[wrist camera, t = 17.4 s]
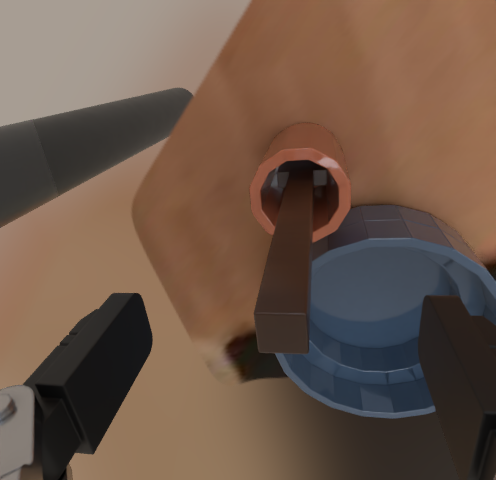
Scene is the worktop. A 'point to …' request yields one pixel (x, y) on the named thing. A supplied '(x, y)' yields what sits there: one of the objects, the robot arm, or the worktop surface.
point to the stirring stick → (289, 264)
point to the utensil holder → (325, 197)
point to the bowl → (382, 308)
